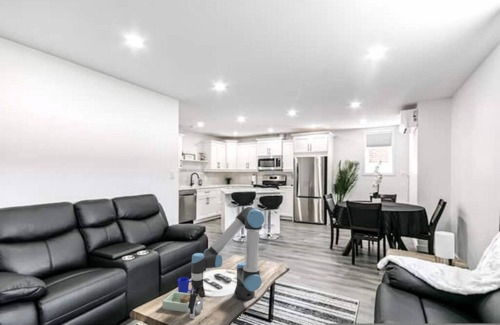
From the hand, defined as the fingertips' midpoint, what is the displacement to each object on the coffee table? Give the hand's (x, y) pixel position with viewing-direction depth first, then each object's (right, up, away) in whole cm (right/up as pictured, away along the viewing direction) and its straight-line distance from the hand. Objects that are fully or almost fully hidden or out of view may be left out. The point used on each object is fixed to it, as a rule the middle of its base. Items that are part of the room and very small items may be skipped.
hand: (196, 312), depth 166 cm
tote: (-13, 0, +9) cm, 16 cm away
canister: (0, 0, 0) cm, 0 cm away
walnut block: (-9, 0, +9) cm, 13 cm away
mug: (-14, -1, +27) cm, 30 cm away
